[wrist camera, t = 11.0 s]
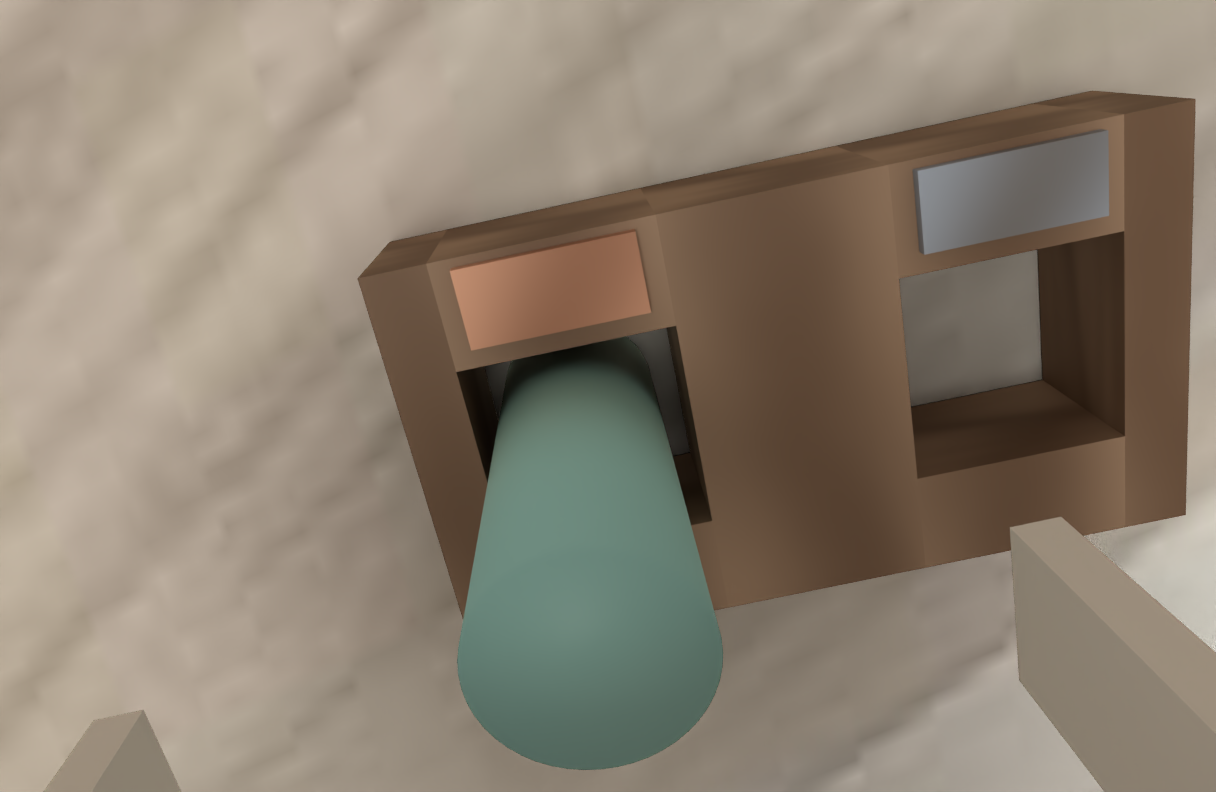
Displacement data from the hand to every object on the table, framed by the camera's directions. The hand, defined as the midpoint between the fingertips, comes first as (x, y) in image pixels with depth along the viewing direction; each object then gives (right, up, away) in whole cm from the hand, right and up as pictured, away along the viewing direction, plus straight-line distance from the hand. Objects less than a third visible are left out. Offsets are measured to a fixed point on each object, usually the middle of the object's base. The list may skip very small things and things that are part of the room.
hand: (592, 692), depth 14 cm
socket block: (+4, +6, +11) cm, 13 cm away
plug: (-1, +5, +11) cm, 12 cm away
